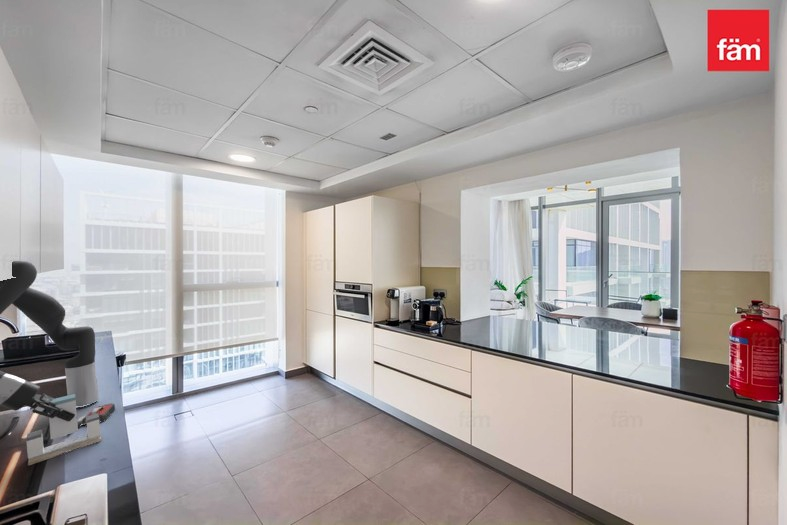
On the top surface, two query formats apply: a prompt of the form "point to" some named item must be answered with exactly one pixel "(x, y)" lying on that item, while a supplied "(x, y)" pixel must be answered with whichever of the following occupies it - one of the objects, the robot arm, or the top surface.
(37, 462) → the wood panel
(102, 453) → the top surface
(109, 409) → the walkie-talkie
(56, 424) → the block
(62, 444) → the rail
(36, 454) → the mounted modules
